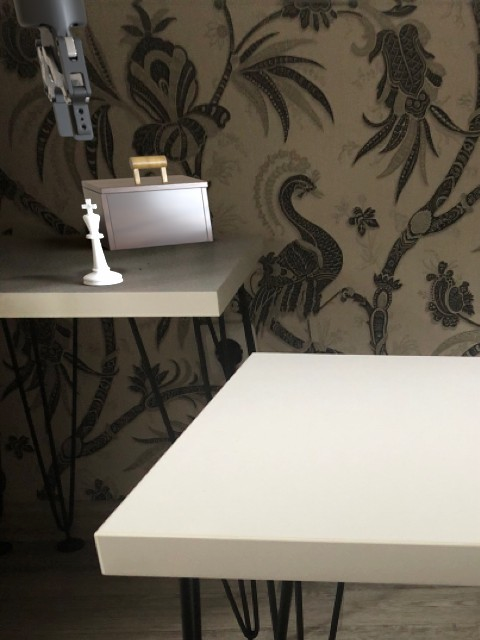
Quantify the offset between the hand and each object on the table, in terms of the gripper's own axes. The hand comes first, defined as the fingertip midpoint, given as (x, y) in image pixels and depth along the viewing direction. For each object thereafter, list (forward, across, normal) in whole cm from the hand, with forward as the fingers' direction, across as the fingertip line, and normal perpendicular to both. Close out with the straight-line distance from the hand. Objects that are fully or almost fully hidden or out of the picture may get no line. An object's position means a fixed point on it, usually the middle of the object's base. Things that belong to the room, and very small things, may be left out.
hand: (76, 138), depth 111 cm
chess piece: (+17, 0, 0) cm, 17 cm away
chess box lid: (+8, -23, +13) cm, 27 cm away
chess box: (+17, -23, +13) cm, 31 cm away
